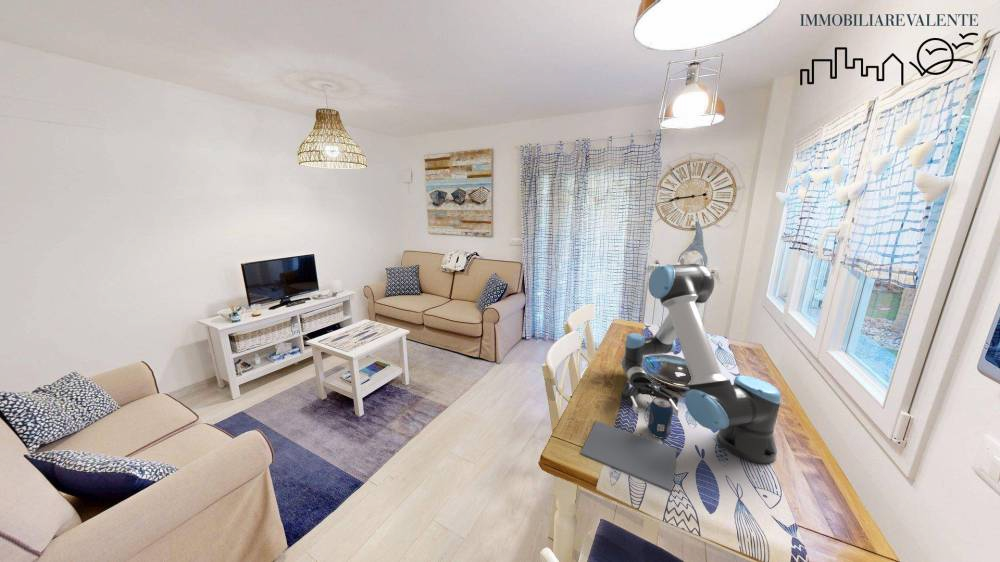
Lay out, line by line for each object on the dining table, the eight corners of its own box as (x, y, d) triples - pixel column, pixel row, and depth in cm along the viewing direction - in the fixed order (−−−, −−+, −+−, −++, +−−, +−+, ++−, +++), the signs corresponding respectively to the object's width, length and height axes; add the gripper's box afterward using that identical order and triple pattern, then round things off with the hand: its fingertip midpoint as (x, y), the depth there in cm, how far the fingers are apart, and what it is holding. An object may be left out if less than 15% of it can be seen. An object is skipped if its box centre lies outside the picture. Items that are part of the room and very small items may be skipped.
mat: (676, 450, 101) (676, 448, 101) (671, 491, 87) (672, 490, 87) (596, 421, 115) (596, 420, 115) (580, 453, 100) (580, 452, 100)
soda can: (646, 423, 114) (650, 394, 111) (668, 428, 111) (672, 398, 109) (648, 436, 108) (651, 405, 105) (670, 441, 105) (675, 410, 102)
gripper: (669, 389, 130) (692, 423, 110) (607, 385, 134) (619, 418, 113) (671, 373, 129) (695, 404, 108) (608, 369, 132) (620, 399, 111)
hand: (656, 411), depth 111 cm, fingers open, 13 cm apart
